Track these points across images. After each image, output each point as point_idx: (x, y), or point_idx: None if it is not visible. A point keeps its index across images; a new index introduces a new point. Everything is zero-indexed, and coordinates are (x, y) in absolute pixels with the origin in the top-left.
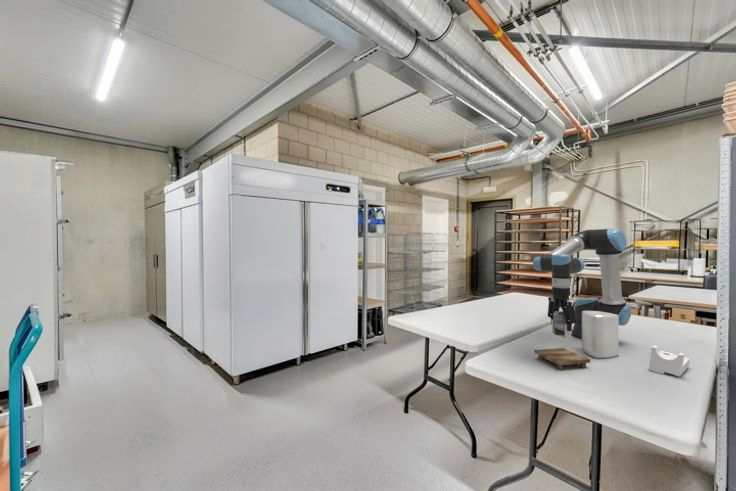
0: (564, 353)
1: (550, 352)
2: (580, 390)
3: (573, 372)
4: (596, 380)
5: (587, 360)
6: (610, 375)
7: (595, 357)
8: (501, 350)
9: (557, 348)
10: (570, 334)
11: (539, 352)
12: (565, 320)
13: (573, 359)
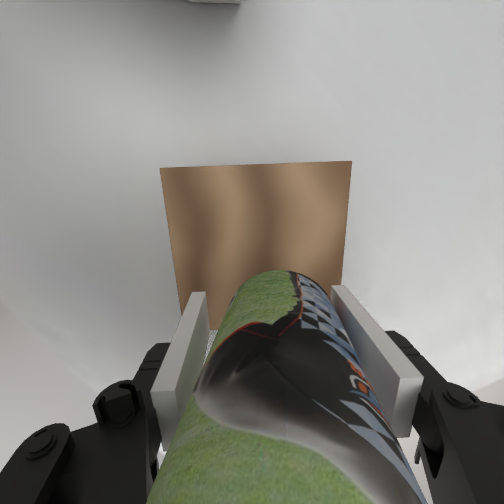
0: (250, 230)
1: (226, 286)
2: (455, 338)
3: (349, 266)
4: (429, 239)
5: (348, 179)
6: (421, 141)
7: (234, 2)
8: (99, 378)
9: (171, 209)
10: (355, 302)
11: (217, 329)
12: (430, 487)
13: (330, 248)
